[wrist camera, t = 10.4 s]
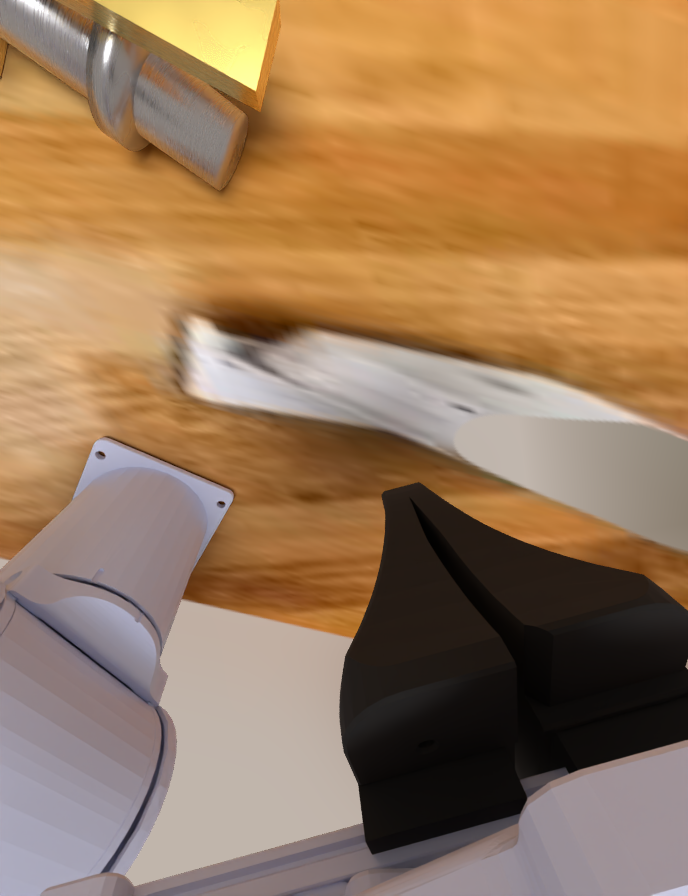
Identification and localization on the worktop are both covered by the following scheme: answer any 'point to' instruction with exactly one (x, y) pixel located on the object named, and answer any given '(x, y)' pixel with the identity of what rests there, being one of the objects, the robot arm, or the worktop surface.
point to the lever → (199, 37)
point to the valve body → (130, 88)
